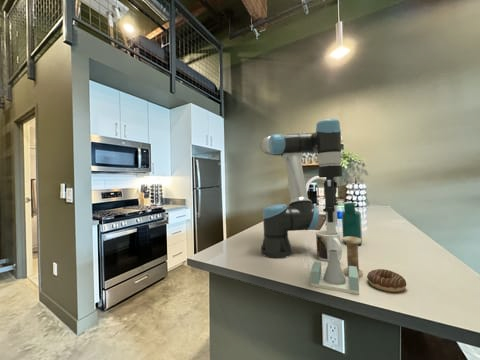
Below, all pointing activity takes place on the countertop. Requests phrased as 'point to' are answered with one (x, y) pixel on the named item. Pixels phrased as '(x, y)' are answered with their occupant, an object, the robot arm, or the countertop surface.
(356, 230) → the green bottle
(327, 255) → the mug
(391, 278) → the donut
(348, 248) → the bobbin
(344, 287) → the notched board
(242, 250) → the countertop surface
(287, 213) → the robot arm
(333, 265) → the flask
